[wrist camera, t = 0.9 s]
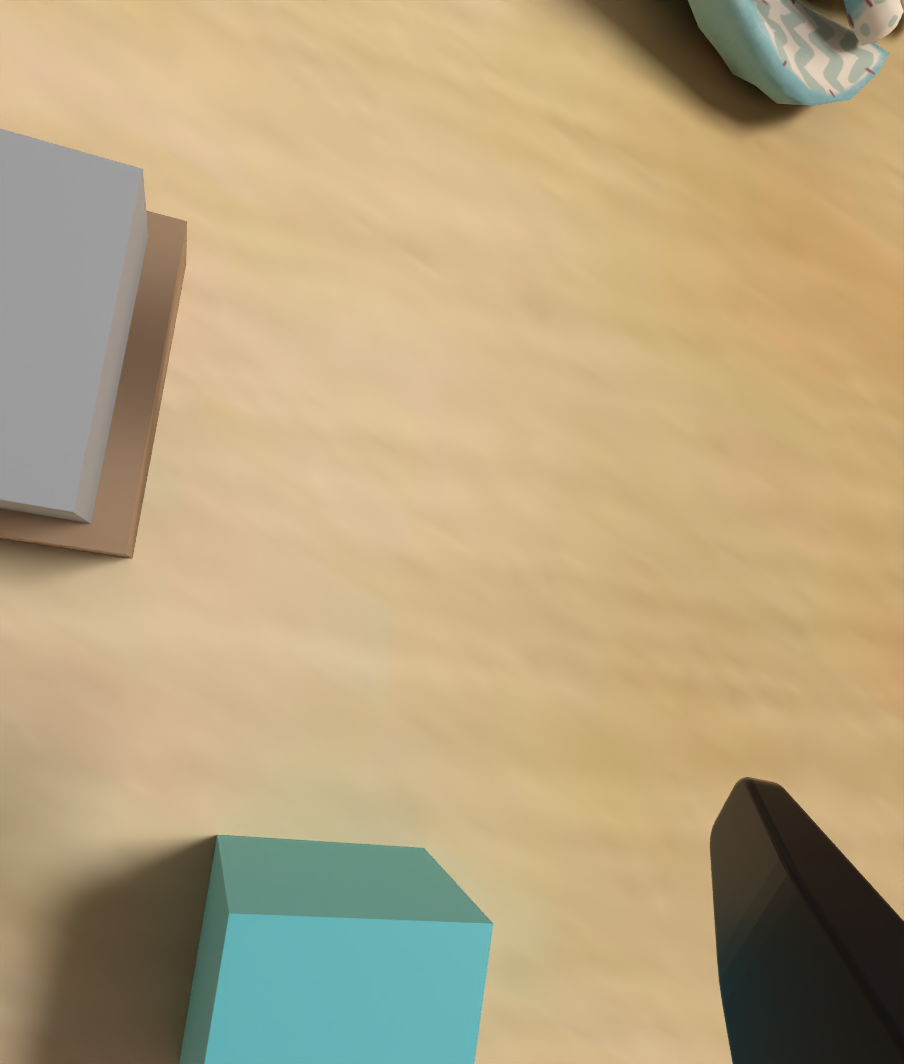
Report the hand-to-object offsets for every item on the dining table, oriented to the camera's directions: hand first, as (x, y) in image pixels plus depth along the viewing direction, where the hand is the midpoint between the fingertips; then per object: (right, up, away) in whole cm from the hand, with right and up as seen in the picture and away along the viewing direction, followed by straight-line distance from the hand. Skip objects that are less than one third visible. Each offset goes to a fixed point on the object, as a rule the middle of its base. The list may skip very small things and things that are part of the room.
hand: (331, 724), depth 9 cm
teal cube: (-2, -8, +11) cm, 14 cm away
